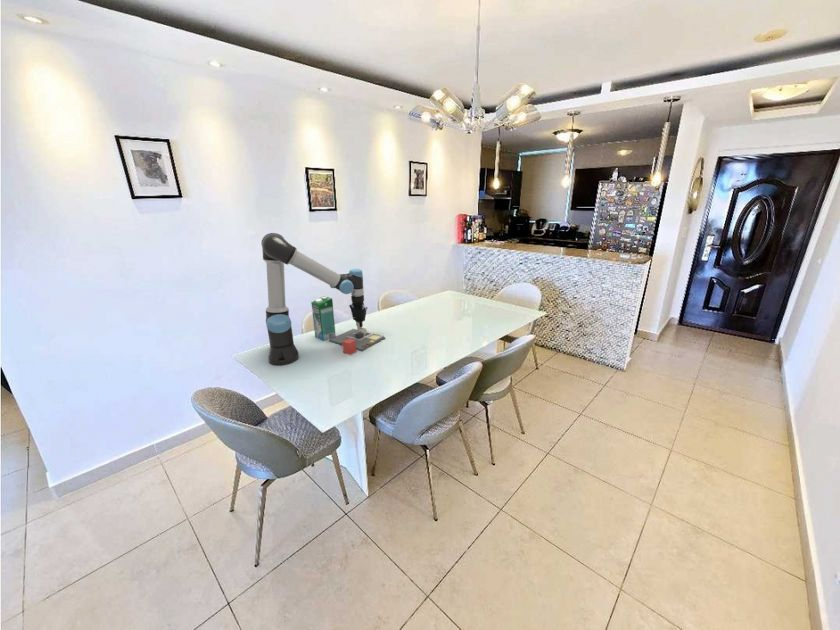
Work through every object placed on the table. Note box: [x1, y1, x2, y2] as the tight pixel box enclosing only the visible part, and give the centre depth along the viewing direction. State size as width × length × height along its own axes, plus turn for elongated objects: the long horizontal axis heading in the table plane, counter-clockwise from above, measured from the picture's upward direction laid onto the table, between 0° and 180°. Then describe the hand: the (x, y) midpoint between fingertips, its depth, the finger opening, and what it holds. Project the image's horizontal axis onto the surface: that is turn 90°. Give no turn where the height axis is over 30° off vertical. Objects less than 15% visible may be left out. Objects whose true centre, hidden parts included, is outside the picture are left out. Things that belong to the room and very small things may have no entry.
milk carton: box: [310, 295, 337, 342], centre depth 206 cm, size 9×9×25 cm
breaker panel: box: [328, 328, 386, 352], centre depth 205 cm, size 26×21×5 cm
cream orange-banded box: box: [358, 327, 368, 335], centre depth 210 cm, size 3×4×4 cm
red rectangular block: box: [342, 338, 357, 356], centre depth 189 cm, size 5×5×7 cm
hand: (359, 331), depth 211 cm, fingers closed
